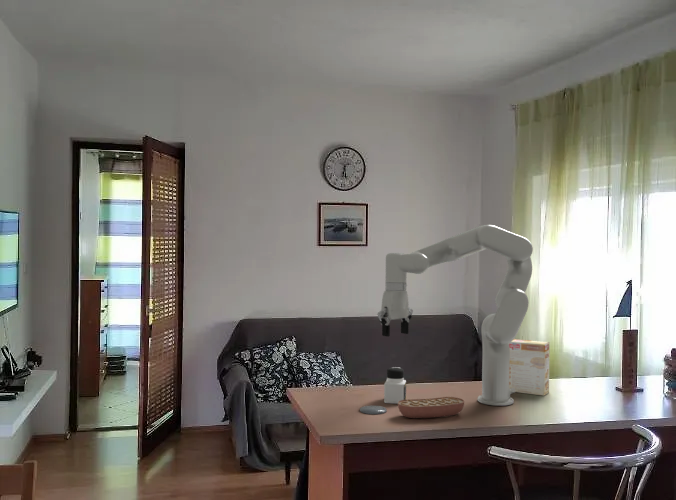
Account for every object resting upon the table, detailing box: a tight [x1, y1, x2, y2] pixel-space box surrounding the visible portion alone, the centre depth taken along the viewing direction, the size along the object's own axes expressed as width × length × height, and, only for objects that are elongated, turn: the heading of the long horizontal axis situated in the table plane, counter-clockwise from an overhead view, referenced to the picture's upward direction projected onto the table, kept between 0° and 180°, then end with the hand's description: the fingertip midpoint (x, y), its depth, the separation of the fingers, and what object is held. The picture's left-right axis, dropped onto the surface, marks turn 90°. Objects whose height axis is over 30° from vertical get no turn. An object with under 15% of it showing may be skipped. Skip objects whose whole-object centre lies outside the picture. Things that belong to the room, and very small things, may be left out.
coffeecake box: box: [509, 338, 550, 397], centre depth 250 cm, size 15×7×20 cm, turn 58°
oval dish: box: [397, 396, 465, 419], centre depth 216 cm, size 23×10×5 cm, turn 105°
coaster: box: [359, 405, 387, 415], centre depth 222 cm, size 9×9×1 cm
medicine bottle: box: [383, 366, 407, 405], centre depth 235 cm, size 7×7×12 cm
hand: (395, 334), depth 235 cm, fingers open, 9 cm apart
